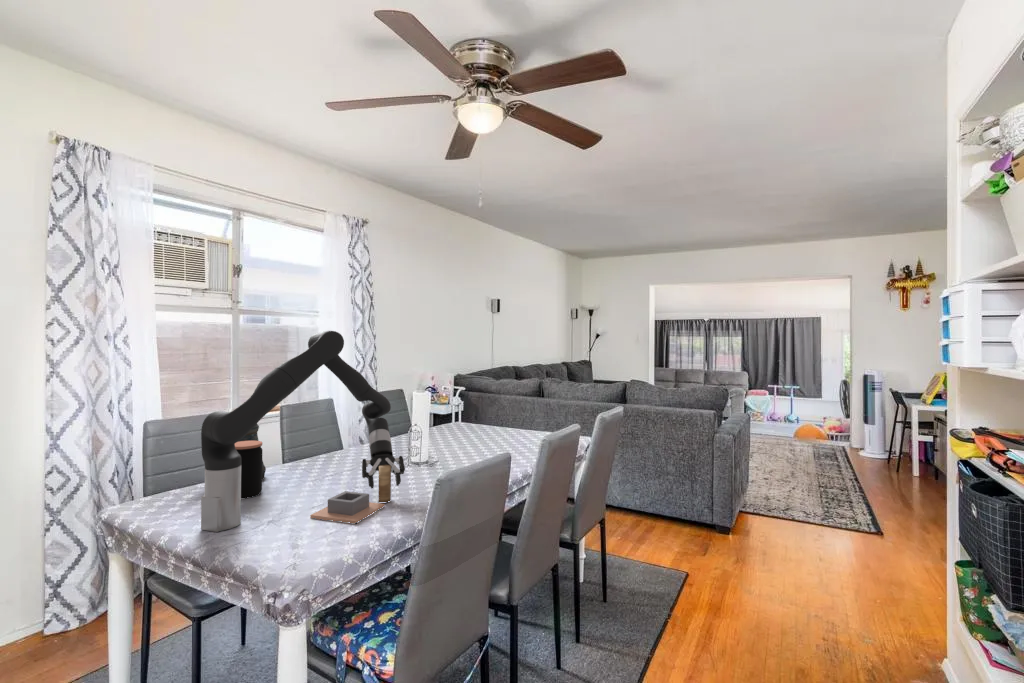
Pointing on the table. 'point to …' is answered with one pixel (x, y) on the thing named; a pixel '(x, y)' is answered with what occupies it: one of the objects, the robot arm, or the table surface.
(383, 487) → the tan dome-topped cylinder
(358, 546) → the table surface
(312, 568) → the table surface
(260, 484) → the coffee jar
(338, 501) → the holder
